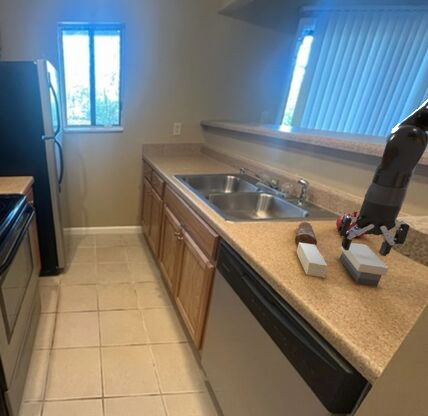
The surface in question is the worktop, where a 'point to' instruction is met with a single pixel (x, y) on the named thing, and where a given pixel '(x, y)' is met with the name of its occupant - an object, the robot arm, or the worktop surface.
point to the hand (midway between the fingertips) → (363, 251)
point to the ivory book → (365, 259)
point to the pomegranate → (349, 225)
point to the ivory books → (311, 260)
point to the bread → (305, 234)
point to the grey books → (360, 273)
